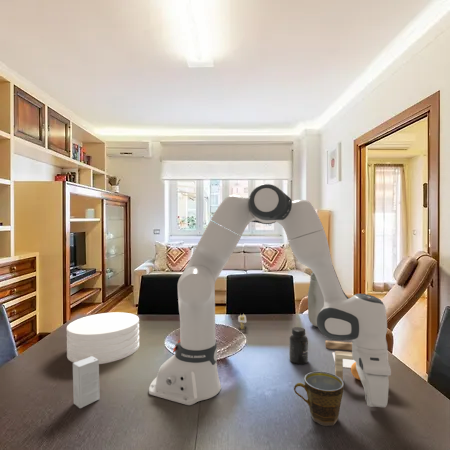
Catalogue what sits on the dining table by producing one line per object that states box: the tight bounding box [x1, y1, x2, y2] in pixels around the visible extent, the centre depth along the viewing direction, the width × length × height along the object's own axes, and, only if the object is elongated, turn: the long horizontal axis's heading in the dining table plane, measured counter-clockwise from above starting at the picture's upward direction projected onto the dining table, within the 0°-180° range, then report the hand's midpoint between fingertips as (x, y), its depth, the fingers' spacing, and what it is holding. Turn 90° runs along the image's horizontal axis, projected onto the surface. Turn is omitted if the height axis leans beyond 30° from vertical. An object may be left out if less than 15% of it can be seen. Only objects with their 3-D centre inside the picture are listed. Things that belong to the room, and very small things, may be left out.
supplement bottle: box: [288, 326, 309, 365], centre depth 113 cm, size 7×7×12 cm
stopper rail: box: [324, 339, 352, 351], centre depth 123 cm, size 16×2×2 cm, turn 76°
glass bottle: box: [307, 271, 324, 328], centre depth 150 cm, size 10×10×28 cm
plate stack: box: [66, 311, 140, 365], centre depth 126 cm, size 28×28×12 cm
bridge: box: [334, 350, 353, 382], centre depth 97 cm, size 3×14×9 cm, turn 76°
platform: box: [237, 313, 247, 331], centre depth 150 cm, size 12×18×7 cm, turn 179°
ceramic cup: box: [293, 370, 345, 427], centre depth 80 cm, size 13×10×10 cm
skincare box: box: [72, 356, 101, 409], centre depth 88 cm, size 6×4×12 cm
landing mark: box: [332, 351, 356, 369], centre depth 112 cm, size 12×12×1 cm
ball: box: [350, 362, 361, 381], centre depth 99 cm, size 6×6×6 cm
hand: (369, 403), depth 83 cm, fingers closed
